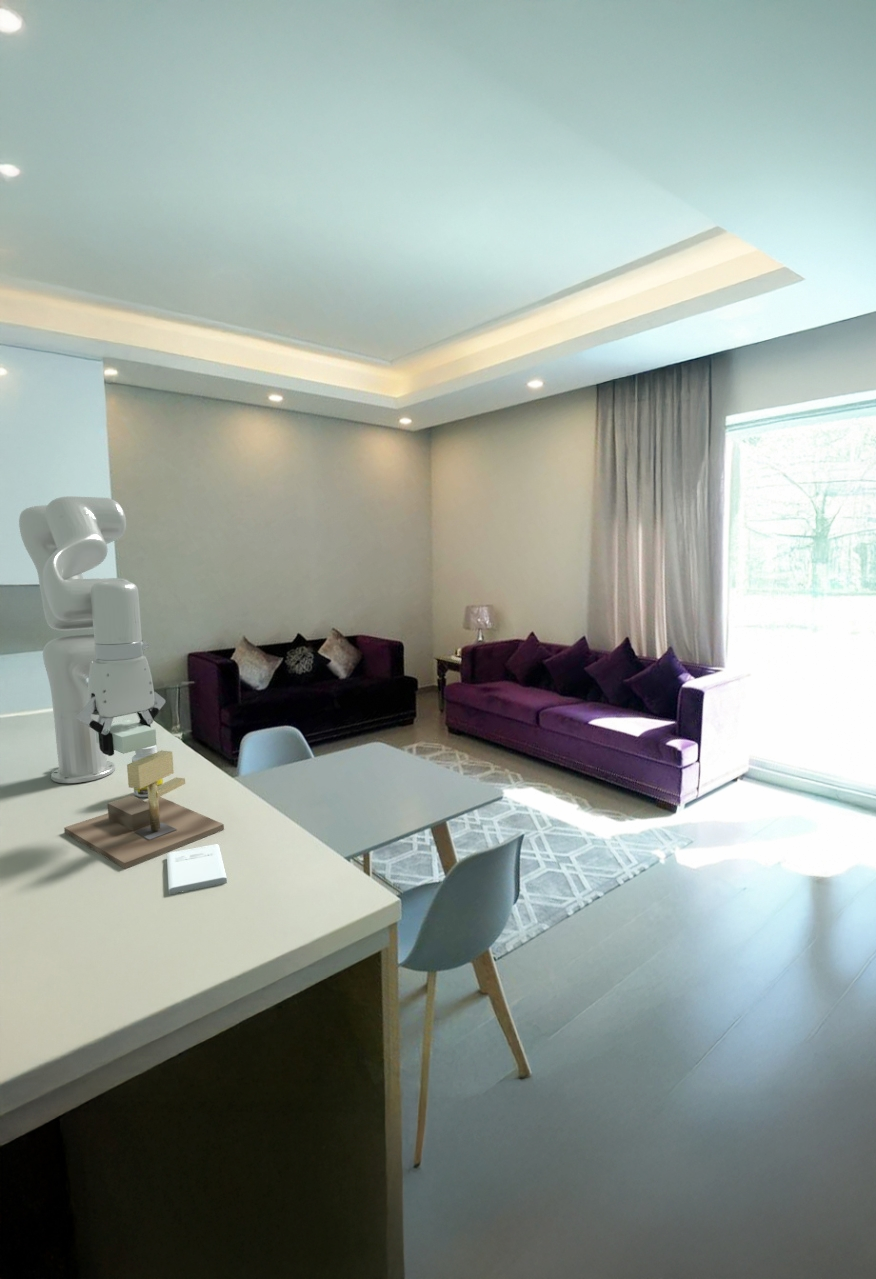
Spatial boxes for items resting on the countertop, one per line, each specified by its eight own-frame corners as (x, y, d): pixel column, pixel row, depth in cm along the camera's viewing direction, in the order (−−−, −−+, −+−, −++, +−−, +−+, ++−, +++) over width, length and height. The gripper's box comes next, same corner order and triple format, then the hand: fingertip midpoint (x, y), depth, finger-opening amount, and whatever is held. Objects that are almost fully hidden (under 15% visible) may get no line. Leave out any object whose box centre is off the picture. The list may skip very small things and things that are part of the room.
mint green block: (96, 742, 117) (94, 726, 116) (128, 734, 122) (127, 719, 121) (123, 753, 111) (122, 737, 110) (156, 745, 116) (155, 729, 115)
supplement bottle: (136, 800, 130) (132, 751, 129) (132, 791, 135) (128, 744, 133) (166, 794, 133) (162, 746, 132) (160, 786, 138) (157, 740, 136)
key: (177, 812, 120) (173, 745, 118) (188, 813, 119) (183, 746, 117) (132, 837, 110) (126, 764, 108) (144, 839, 109) (138, 766, 107)
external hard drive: (169, 898, 94) (167, 861, 106) (227, 886, 98) (219, 851, 109) (168, 888, 94) (166, 852, 105) (226, 876, 97) (218, 842, 109)
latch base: (64, 832, 115) (62, 811, 115) (159, 801, 129) (158, 782, 129) (125, 869, 102) (123, 845, 101) (223, 829, 116) (222, 808, 115)
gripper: (154, 643, 123) (160, 734, 125) (57, 656, 109) (66, 757, 112) (176, 647, 118) (181, 741, 121) (77, 661, 105) (86, 767, 107)
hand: (126, 748), depth 116 cm, fingers closed on mint green block, 6 cm apart
